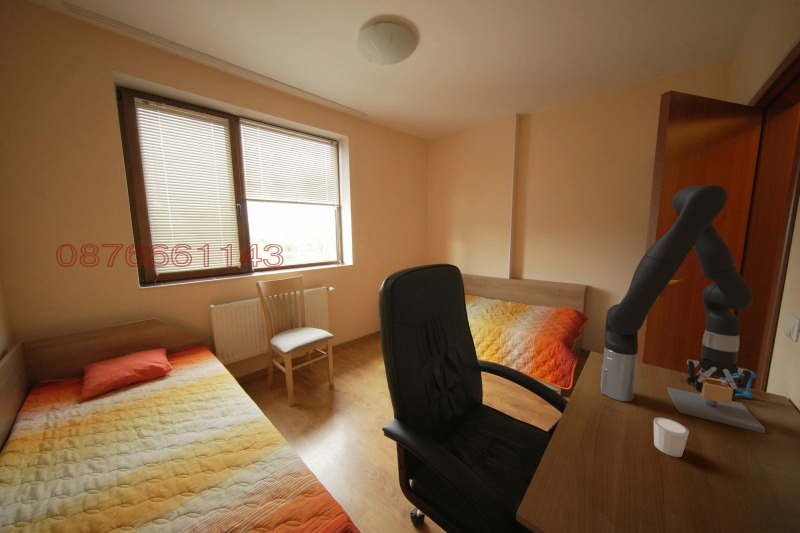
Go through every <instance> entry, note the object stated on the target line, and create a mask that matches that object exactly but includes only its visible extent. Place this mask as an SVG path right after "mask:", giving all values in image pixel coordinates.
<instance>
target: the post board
mask: <svg viewBox="0 0 800 533" xmlns="http://www.w3.org/2000/svg"><path fill="white" fill-rule="evenodd" d="M666 391H667V393H668V394H669V397H670V398H671V400H672V402H673V405H674V407H676V409H677V411H678V413H681V414H684V415H688V416H692V417H696V418H697V417H698V418H701V419H705V420H708V421H713V422H717V423H721V424H725V425H730V426H732V427H736V428H741V429H744V430H745V429H746V430H749V431H753V432H757V433H761V434H766V432H765V431H766V428H765V427H764V426H763V425H762V423H761V422H760V421H759V420H758V419H757V418H756V417H755V416H754V414H752V412H750V411H749V409H748V408H747V407H746V406H745V405H744V404H743V403H742V402H739V401H733V400H732V402H731V404H726V403H722V402H717V406H716V408H712V407H709V406H707V405H706V404H705V403H706V399H703V397H702V396H701V394H700V393H698V392H691V391H687V390H682V389H677V388H674V387H669V386H667V390H666Z"/></svg>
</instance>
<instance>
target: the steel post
mask: <svg viewBox="0 0 800 533" xmlns="http://www.w3.org/2000/svg"><path fill="white" fill-rule="evenodd" d="M705 404H706V405H707V406H709V407H712V408H716V406H717V401H713V400H708V399H706V403H705Z"/></svg>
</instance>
